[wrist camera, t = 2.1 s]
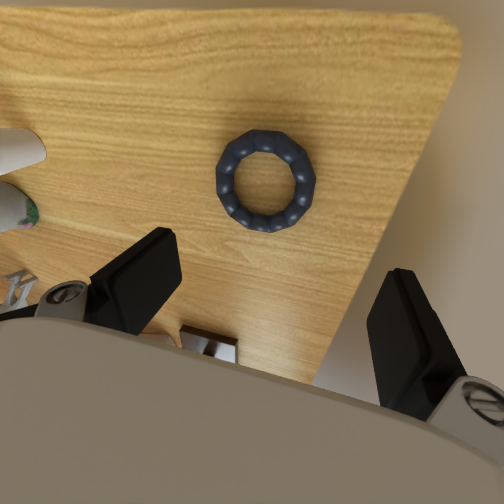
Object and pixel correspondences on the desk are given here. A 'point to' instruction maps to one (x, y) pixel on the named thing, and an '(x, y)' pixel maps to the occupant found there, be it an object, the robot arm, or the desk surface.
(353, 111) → the desk surface
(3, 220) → the decorative ornament
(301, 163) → the ring
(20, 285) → the figurine
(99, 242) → the desk surface
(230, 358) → the stand
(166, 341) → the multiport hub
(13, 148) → the cup
